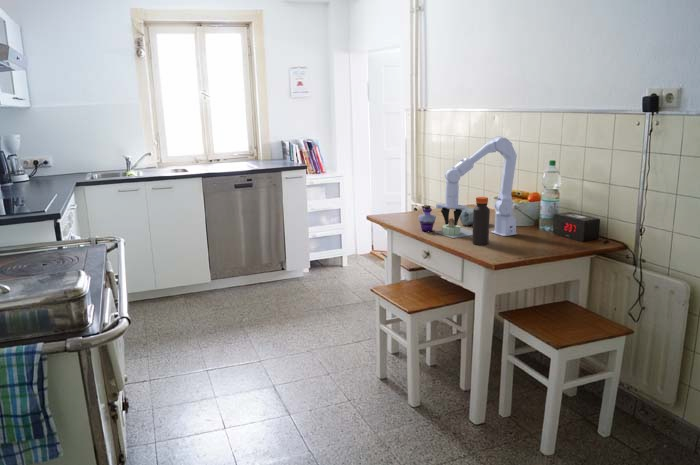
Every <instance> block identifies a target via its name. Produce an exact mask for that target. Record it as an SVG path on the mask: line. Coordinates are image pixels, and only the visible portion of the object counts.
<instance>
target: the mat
mask: <svg viewBox="0 0 700 465" xmlns="http://www.w3.org/2000/svg"><path fill="white" fill-rule="evenodd" d="M434 233H435V234H438V235H441V236H445V237H446V238H450V239H458V238H460V239H461V238H466V237H473V230H471V229H468V228H464V227H460V234H457V235H447V234H443V233H442V230H436V231H434Z"/></svg>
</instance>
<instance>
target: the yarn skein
mask: <svg viewBox="0 0 700 465" xmlns="http://www.w3.org/2000/svg"><path fill="white" fill-rule="evenodd" d="M474 208H475V207H472V208H468V210H467V211H464V210H462V213H461V215H460V217H459V220H460V223H461V224H462V225H463V226H470V225H472V226H473V210H474Z"/></svg>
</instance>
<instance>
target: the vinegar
mask: <svg viewBox="0 0 700 465" xmlns="http://www.w3.org/2000/svg"><path fill="white" fill-rule="evenodd" d="M475 203H476V206H475V207H473V208H474V210H473V224H472V231H473V236H471V238H472V239H471V240H472V242H471V243H472V244H473V245H476V246H486V245H489V236H490V219H491V218H490V213H491V210H490V208H489V207H488V204H489V198H488V197H487V196H477V197H476V198H475Z"/></svg>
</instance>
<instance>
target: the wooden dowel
mask: <svg viewBox="0 0 700 465" xmlns="http://www.w3.org/2000/svg"><path fill="white" fill-rule="evenodd" d="M448 225H449V227H450V228H454V218H452V217H451V218H449V223H448Z"/></svg>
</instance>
